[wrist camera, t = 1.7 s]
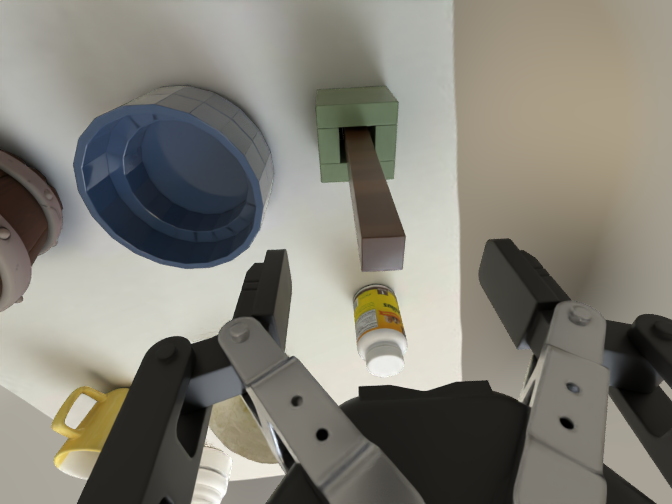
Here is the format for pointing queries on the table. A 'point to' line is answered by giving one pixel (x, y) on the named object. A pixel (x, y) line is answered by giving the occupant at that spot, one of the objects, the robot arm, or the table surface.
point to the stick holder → (352, 111)
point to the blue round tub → (176, 176)
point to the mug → (86, 431)
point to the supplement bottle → (379, 330)
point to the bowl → (240, 431)
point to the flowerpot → (24, 224)
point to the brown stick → (372, 205)
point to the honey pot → (212, 477)
